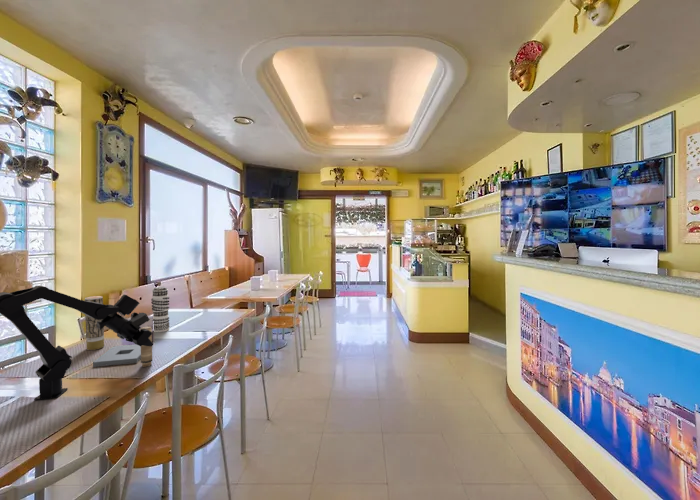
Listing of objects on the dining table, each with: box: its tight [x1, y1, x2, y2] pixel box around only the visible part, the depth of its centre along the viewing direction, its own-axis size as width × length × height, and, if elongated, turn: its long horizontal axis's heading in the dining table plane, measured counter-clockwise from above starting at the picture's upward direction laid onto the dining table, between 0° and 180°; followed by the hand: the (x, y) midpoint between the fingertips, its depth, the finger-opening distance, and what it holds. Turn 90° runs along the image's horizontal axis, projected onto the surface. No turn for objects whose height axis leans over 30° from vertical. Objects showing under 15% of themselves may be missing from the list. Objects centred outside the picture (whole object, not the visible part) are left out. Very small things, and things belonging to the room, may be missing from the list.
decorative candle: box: [150, 286, 171, 333], centre depth 185 cm, size 9×9×25 cm
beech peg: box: [139, 326, 153, 368], centre depth 135 cm, size 4×4×16 cm
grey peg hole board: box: [92, 344, 141, 368], centre depth 146 cm, size 20×16×2 cm
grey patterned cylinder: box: [84, 295, 105, 351], centre depth 155 cm, size 7×7×25 cm
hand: (149, 344), depth 136 cm, fingers closed on beech peg, 4 cm apart
